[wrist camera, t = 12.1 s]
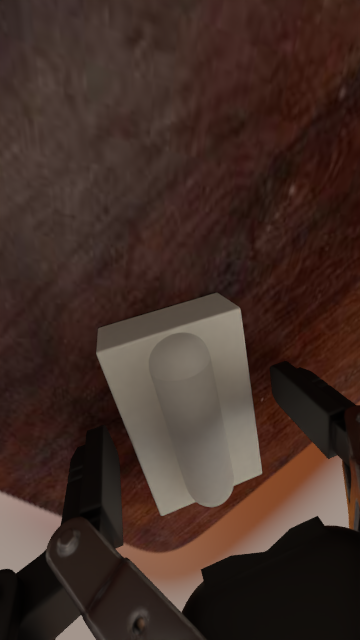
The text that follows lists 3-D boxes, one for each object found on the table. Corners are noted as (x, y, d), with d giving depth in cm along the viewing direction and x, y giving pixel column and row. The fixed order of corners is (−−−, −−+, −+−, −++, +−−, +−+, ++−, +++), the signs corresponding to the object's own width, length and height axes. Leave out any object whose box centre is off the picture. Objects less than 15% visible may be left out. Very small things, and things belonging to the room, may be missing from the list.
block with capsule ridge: (241, 439, 16) (276, 495, 13) (153, 475, 15) (166, 544, 12) (217, 291, 12) (257, 317, 9) (97, 327, 11) (94, 370, 8)
